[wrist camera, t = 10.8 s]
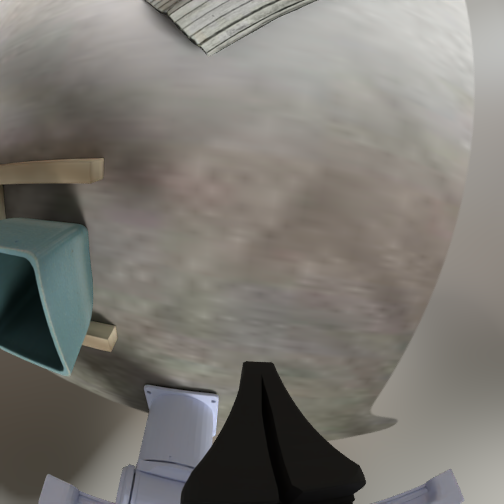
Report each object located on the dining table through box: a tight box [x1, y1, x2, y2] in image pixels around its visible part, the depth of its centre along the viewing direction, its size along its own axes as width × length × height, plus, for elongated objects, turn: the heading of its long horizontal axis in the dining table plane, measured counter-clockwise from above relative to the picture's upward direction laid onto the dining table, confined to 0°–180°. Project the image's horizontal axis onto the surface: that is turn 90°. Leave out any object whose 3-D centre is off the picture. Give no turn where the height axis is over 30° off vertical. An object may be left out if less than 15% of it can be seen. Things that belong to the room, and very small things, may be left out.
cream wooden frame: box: [0, 158, 118, 352], centre depth 18 cm, size 16×14×2 cm
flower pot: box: [0, 218, 93, 376], centre depth 15 cm, size 9×9×9 cm
